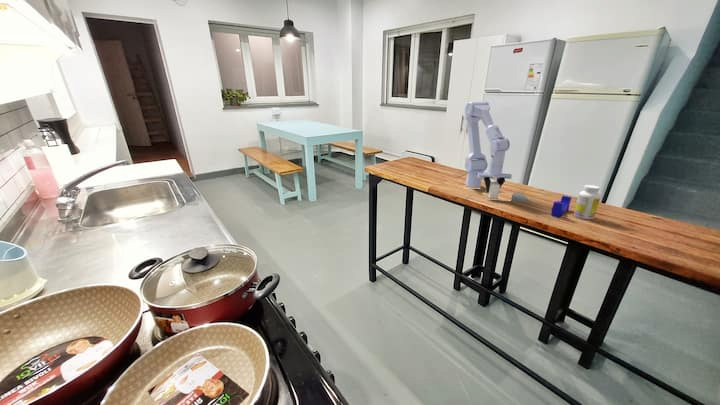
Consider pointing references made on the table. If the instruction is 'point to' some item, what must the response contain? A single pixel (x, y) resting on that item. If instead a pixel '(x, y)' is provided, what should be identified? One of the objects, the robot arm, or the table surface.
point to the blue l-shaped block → (561, 206)
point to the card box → (493, 189)
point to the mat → (519, 198)
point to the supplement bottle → (587, 202)
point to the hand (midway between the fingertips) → (491, 192)
